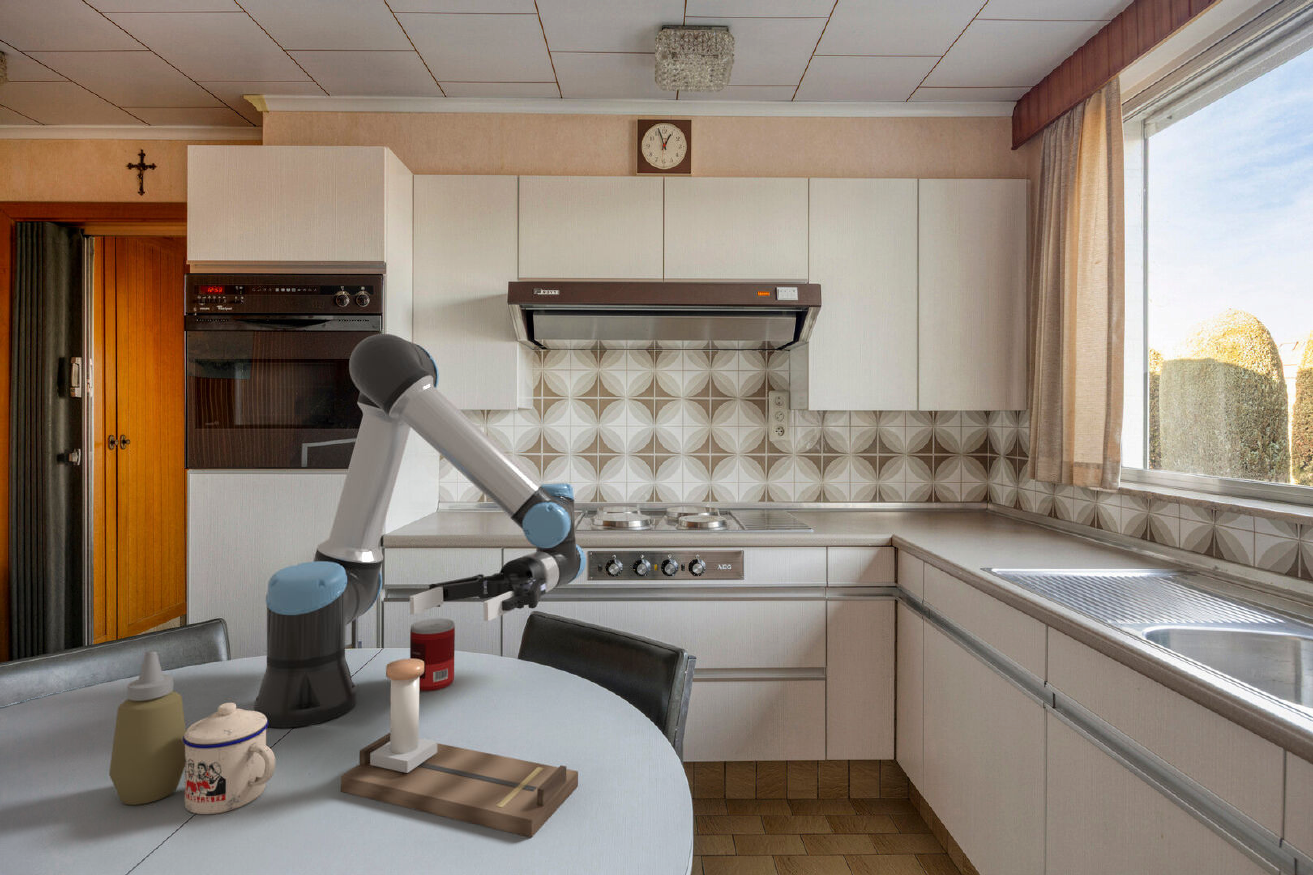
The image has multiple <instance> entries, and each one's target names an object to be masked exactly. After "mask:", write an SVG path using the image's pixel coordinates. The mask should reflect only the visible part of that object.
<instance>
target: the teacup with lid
mask: <svg viewBox="0 0 1313 875" xmlns="http://www.w3.org/2000/svg"><path fill="white" fill-rule="evenodd" d="M267 728H268V720H267V718H266V716H265V715H264V714H262V713H260V712H257V711H254V710H246V709H242V708H237V704H236V703H234V702H226V703H222V704H221V705H219V706H218V707H217V711H216V712H214V713H212V714H211V715H209V716H207V717H205V718H202V719H200V720H198V721H196V722H194V723H192V724H191V725H189V727H188V728H187V729H186V732H185V734H184V737H183V742H184V744H185V768H184V806H185V809H186V810H187V811H189V812H191V813H194V814H198V815H212V814H214V815H215V814H216V815H217V814H220V813H226V812H230V811H233V810H236V809H238V808H239V809H240V808H241V807H243V806H245V805H248V804H249V803H252V802H253V801H255V800H256V799H257V798H259V797H260V796H261V795H262V794H263V792H264V791H265V788H266V785H267V784H266V783H267V782H268V781H269V780H270V779H271V778H272V776H274V775H273V774H274V772H275V770H276V763H277V762H276V756H275V754H274V752H273V750H272V749H271V748H270V747H269V746H267Z"/></svg>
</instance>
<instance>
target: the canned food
mask: <svg viewBox="0 0 1313 875" xmlns="http://www.w3.org/2000/svg"><path fill="white" fill-rule="evenodd" d="M455 627H456V626H455V621H454V620H452V619H448V618H429V619H423V620H419V621H416V622H413V623H412V624H411V625H410V630H409V633H410V635H409V636H410V638H409V659H420V660H422V661H424V673H423V674H422V675H421V676H419V692H432V691H437V690H438V691H439V690H442V689H445V688H447V687H449V686H451V685H452V683H453V681H454V678H455V650H456V649H455V647H456V645H455V642H456V640H455V639H456V638H455V636H456V628H455Z"/></svg>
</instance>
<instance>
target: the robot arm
mask: <svg viewBox="0 0 1313 875" xmlns="http://www.w3.org/2000/svg"><path fill="white" fill-rule="evenodd" d="M348 365H349V366H348V369H349V375H350V378H351V380H352V382H353V384H354V385H355V388H357V389H358V390H359V395H358V399H357V405H358V407H359V408H360V410H361V411H362V418H361V422H360V425H359V430H358V433H357V437H356V438H355V439H356V440H355V443H354V448H353V450H352V454H351V457H350V462H349V465H348V469H347V472H346V476H345V480H344V483H343V487H342V491H341V493H340V496H339V497H340V498H339V501H338V505H337V509H336V512H335V516H334V520H333V523H332V526H331V530H330V534H329V537H328V538H327V539H326V540H325V541H323V542H321V543H319V544H317V547H316V550H315V554H314V558H313V561H309V562H308V561H307V562H301V563H298V564H296V565H289V566H287V567H284V568H282V569H280V570H278V571H276V572H275V573H273V574H272V575H271V577H270V578H269V580H268V583H267V593H266V596H265V604H266V668H265V672H264V674H263V678H262V681H261V684H260V689H259V692H258V695H257V696H256V698H255V699H254V702H253V711H257V712H260V713H262V714H264V715H265V716H266V718H267V720H268V726H267V728H268V727H270V728H278V729H279V728H281V729H282V728H283V729H284V728H285V729H286V728H298V727H300V728H301V727H306V726H311V725H316V724H320V723H324V722H327V721H330V720H333V719H336V718H338V717H341V716H342V715H344V714H346V713H347V712H350V710H352V708H354V706H355V705H356V703H357V689H356V685H355V683H354V681H353V679H352V675H351V671H350V668H349V665H348V662H347V659H346V626H347V625H349V624H351V623H353V621H355V620H356V619H358V618H359V617H361V616H363V615H364V614H365V613H367V612H368V611H369V610H370V609H371V608H372V606H374V604H375V603H376V602H377V600H378V598H379V596H380V593H381V592H382V588H383V575H382V572H381V569H382V568H381V567H382V564H383V560H384V555H383V553H382V552H381V551H380V549H379V544H380V539H381V537H382V532H383V529H384V525H385V522H386V518H387V514H388V510H389V507H390V503H391V500H392V497H393V492H394V488H395V485H396V482H397V478H398V474H399V471H400V468H401V463H402V460H403V456H404V453H405V449H406V447H407V446H406V445H407V443H408V442H407V441H408V438H409V435H410V431H411V429H412V430H413V431H415V433H417V434H418V435H419V436H420V438H422V439H423V440H425V442H426V443H427V444H428V445H430V447H432V448H433V449H434V450H435V451H437V452H438V453H439V454H440V455H441V456H442V457H443V458H444V459H445V460H446V461H448V462H449V464H451V466H453V467H454V468H455V469H456V470H457V471H459V473H460V474H462V475H463V476H464V477H465V478H466V479H467V480H468V481H469V482H470V483H471V484H473V485H474V486H475V487H476V488H477V489H478V490H480V492H481V493H483V495H485V496H486V497H487V498H488V499H489V500H490V501H491V502H492V503H494V504H495V505H496V506H497V507H498V508H499V509H500V510H501V511H502V512H504V513H505V515H507V516H508V517H509V518H510V520H512V521H513V522H514V523H515V524H516V525H517V526H518V527H519V528H521V529H522V532H523V534H524V536H525V537H526V541H528V542H529V543H530V544H532V545H533V546H534V547H535V549H536V550H535V551H534V552H531V553H527V554H526V555H523V556H521V557H518V558H514V559H511V560H509V561H507V562H506V563H505V564H503V566H502V567H501V569H500V570H499V572H497V573H493V574H492V575H486V576H485V575H484V574H482V573H480V574H477V575H474V576H473V575H472V576H470V577H464V578H459V579H454V580H449V581H448V580H447V581H442V582H438V583H437V582H435V583H431V584H429V585H428V590H425V591H422V592H419V593H417V594H413V595H410V596H409V606H410V607H409V610H410V612H409V613H410V615H417V614H420V613H423V612H425V611H428V610H431V609H433V608H436V607H437V608H439V607H440V608H441V606H442V605H444V602H448V601H449V602H450V601H456V600H463V599H470V598H479V599H481V600H484V599H488V600H485V601H483V621H485V622H489V621H491V620H494V619H496V618H499V617H500V616H503V615H505V614H507V613H510V612H512V611H515V609H518V610H519V609H520V610H521V609H524V608H525V606H528V609H535V608H537V606H538V604H539V601H540V600H541V597H542V596H543V595H546V594H547V593H548V592H551V591H552V590H554V589H557V588H560V587H562V586H566V585H568V584H570V583H571V582H573V581H575V580H576V579H578V578H579V577H580V576H581V575H582V574H583V573H584V571H585V569H586V565H587V557H586V554H585V553H584V551H583V548H581V546H579V545H578V544H577V540H576V531H575V530H576V527H575V523H576V522H575V521H576V520H575V498H574V489H573V486H572V484H570V483H566V482H565V483H564V482H563V483H560V482H558V483H557V482H556V483H545V484H544V483H543V484H540V483H539V482H537V480H535V479H534V478H533V477H532V476H531V475H530V474H529V473H528V472H527V471H526V470H525V469H524V468H523V467H521V466H520V465H519V464H518V463H517V462H516V461H515V460H513V458H512V457H510V455H508V454H507V453H506V452H505V451H504V450H503V449H502V448H501V447H499V445H497V444H496V442H494V441H493V440H492V439H491V438H490V437H489V436H488V435H487V434H485V433H484V432H483V431H482V430H481V429H480V428H479V427H478V426H477V425H476V424H475V423H474V422H473V421H471V420H470V418H468V417H467V416H466V415H465V414H464V413H463V412H462V411H460V409H459V408H457V407H456V406H455V405H454V404H453V403H452V402H451V401H450V400H449V399H448V398H447V397H446V396H445V395H443V393H441V392H440V391H439V389H437V388H438V384H439V381H440V372H439V368H438V365H437V362H436V360H435V359H434V358H433V356H432V355H431V354H430V353H429V351H427V350H426V349H425V348H424V347H422V346H421V345H419V344H417V343H414V342H412V341H409V340H406V339H404V338H403V337H400V336H397V335H396V334H395V335H394V334H391V333H377V334H373V335H370V336H368V337H366V338H364V339H363V340H361V341H360V342H359V343H358V344H357V345H356V346H355V347H354V349H353V350H352V352H351V355H350V357H349V364H348ZM485 587H486V592H487V593H485V592H484V590H485Z"/></svg>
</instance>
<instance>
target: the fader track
mask: <svg viewBox="0 0 1313 875" xmlns="http://www.w3.org/2000/svg"><path fill="white" fill-rule="evenodd" d="M388 742H390V732H388V733H387V734H385V735H384V736H382V737H380V738H378V739H377V740H375V741H373V742H372V743H369V744H368V745H366V746H365V747H363V748H361V749H359V754H358V755H359V756H358V757H359V761H358V762H359V764H358V765H356V766H355V767H353V768H351V769H350V770H347V771H346V772H345V773H343V774H342V775H340V792H341V793H346V794H350V795H355V796H359V797H362V798H367V799H371V800H374V801H375V800H376V801H379V802H384V803H388V804H392V805H395V806H400V807H404V808H407V809H408V808H409V809H413V810H416V811H420V812H425V813H429V814H433V815H437V816H441V817H445V818H449V819H455V820H457V821H463V822H466V823H470V824H473V825H474V824H475V825H479V826H482V827H483V826H484V827H486V828H491V829H496V830H500V831H503V832H507V833H512V834H516V835H520V836H525V837H529V838H533V837H534V836H535V835H536V834H537V832H538V831H539V830H540V829H541V828H542V827H543V826H544V825H545V823H546V822H547V821H548V820H549V819H550V818H551V817H552V816H553V815H554V813H555V812H556V811H557V810H558V809H560V807H561V806H562V805H563V803H565V801H566V800H567V799H568V798H569V797H570V796H571V795H572V794H573V792H574V791H575V790H576V789H577V788H578V787H579V771H578V770H573V769H570V768H567V766H566V765H561V764H560V765H559V766H553V765H548V764H545V763H540V762H535V761H529V760H523V759H518V758H514V757H509V756H504V755H499V754H493V753H489V752H483V751H479V750H473V749H469V748H463V747H460V746H454V745H449V744H443V743H438V742H437V753H436V754H434V755H433V756H431V757H430V758H428V759H427V760H425V761H424V762H423V763H421V764H420V765H418V766H417V767H415V768H414V769H412V770H411V771H410V772H408V773H405V772H401V771H396V770H392V769H387V768H383V767H378V766H373V765H370V753H372V752H374V751H375V750H377V749H379V748H380V747H382V746H384V745H385V744H387V743H388ZM549 817H550V818H549Z"/></svg>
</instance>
